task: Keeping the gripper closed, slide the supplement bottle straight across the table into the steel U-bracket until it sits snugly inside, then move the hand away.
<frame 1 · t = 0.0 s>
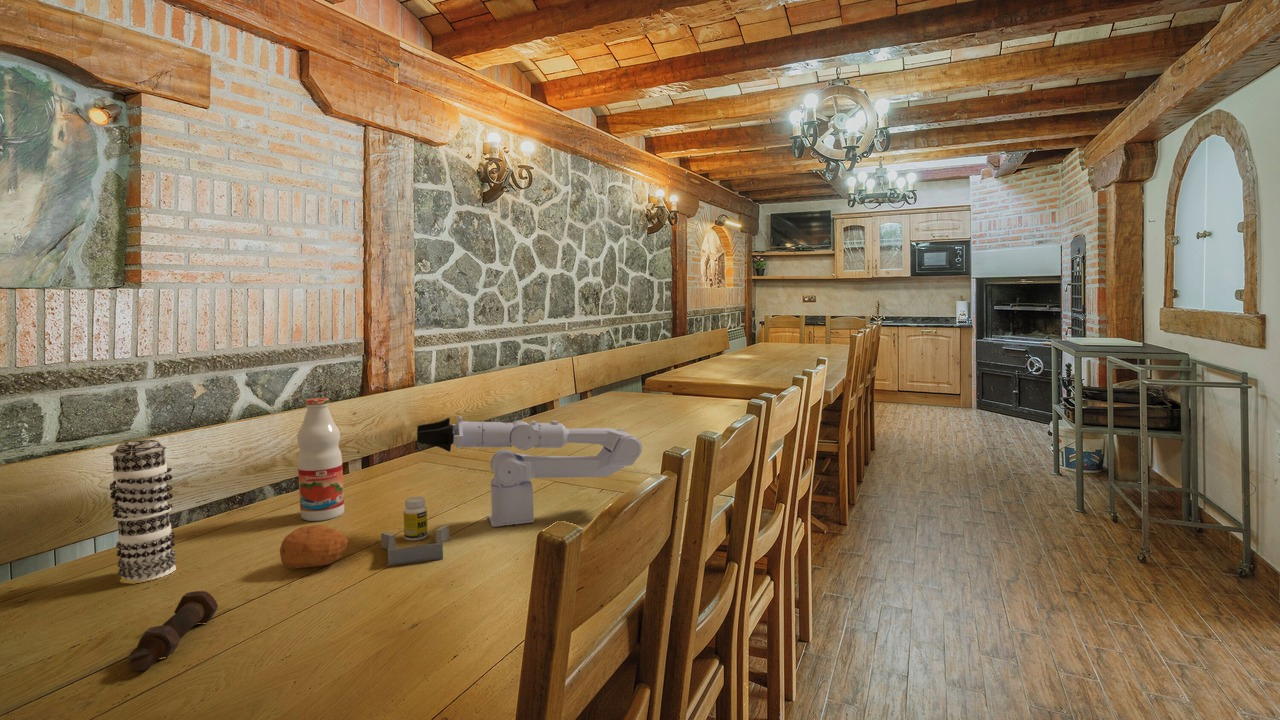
hand: (417, 433, 139), 22 cm above the table, tool horizontal, fingers open, 7 cm apart
potato: (317, 566, 122), on the table
bolt: (171, 648, 93), on the table
fruit juice: (323, 516, 151), on the table
decorative candle: (148, 575, 118), on the table
supplement bottle: (416, 538, 136), on the table
steel bracket: (416, 555, 126), on the table
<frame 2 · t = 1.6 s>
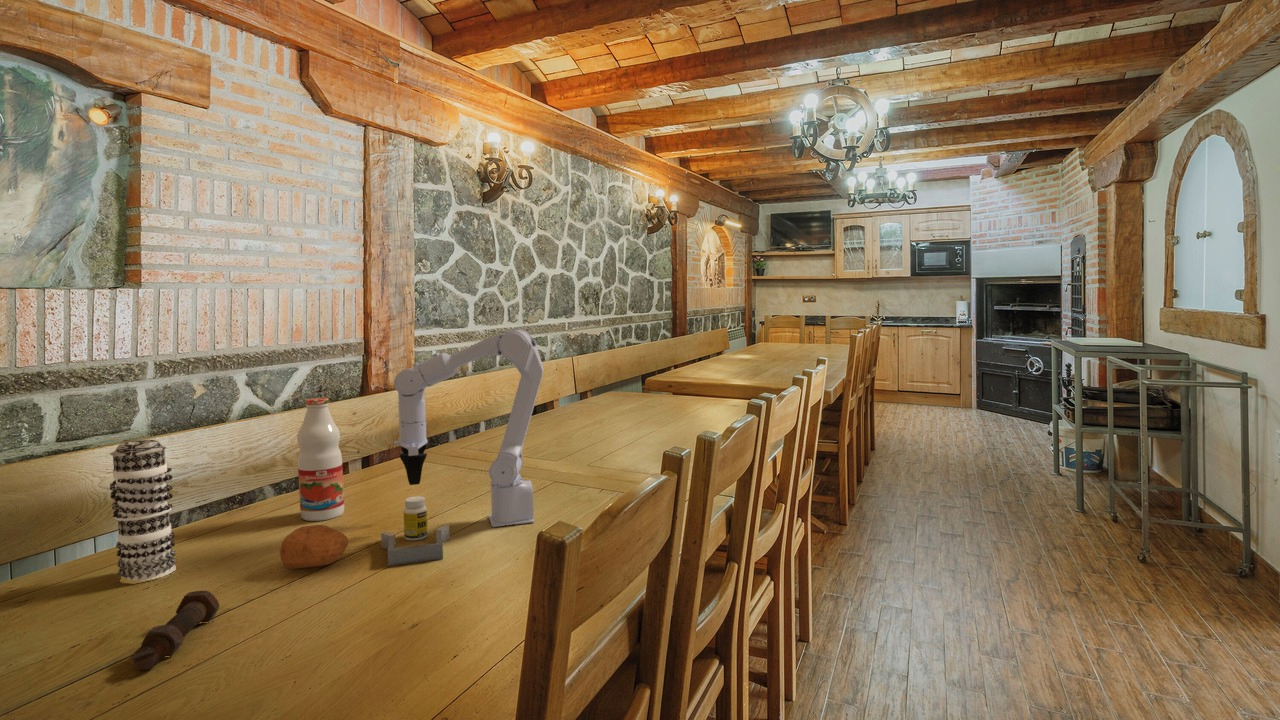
hand: (414, 479, 145), 10 cm above the table, tool pointing down, fingers open, 7 cm apart
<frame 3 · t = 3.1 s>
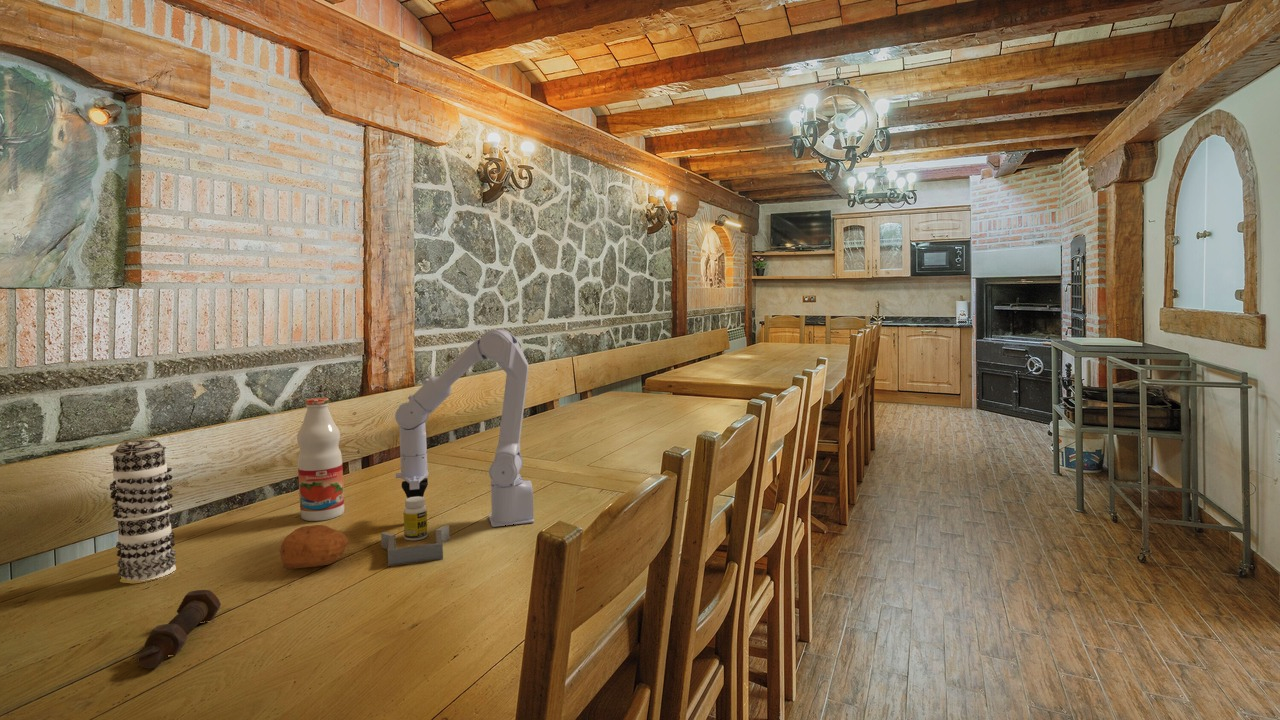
hand: (415, 512, 146), 2 cm above the table, tool pointing down, fingers closed
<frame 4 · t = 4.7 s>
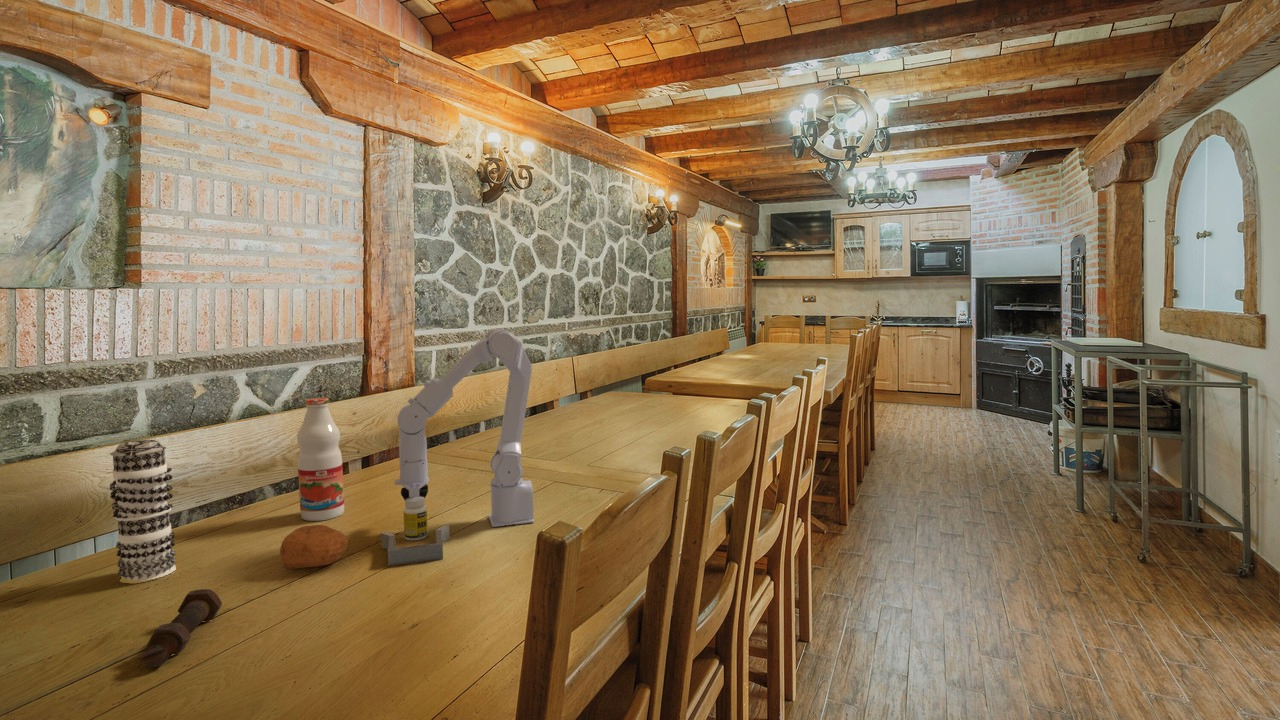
hand: (415, 519, 140), 2 cm above the table, tool pointing down, fingers closed
supplement bottle: (416, 538, 136), on the table, touching gripper
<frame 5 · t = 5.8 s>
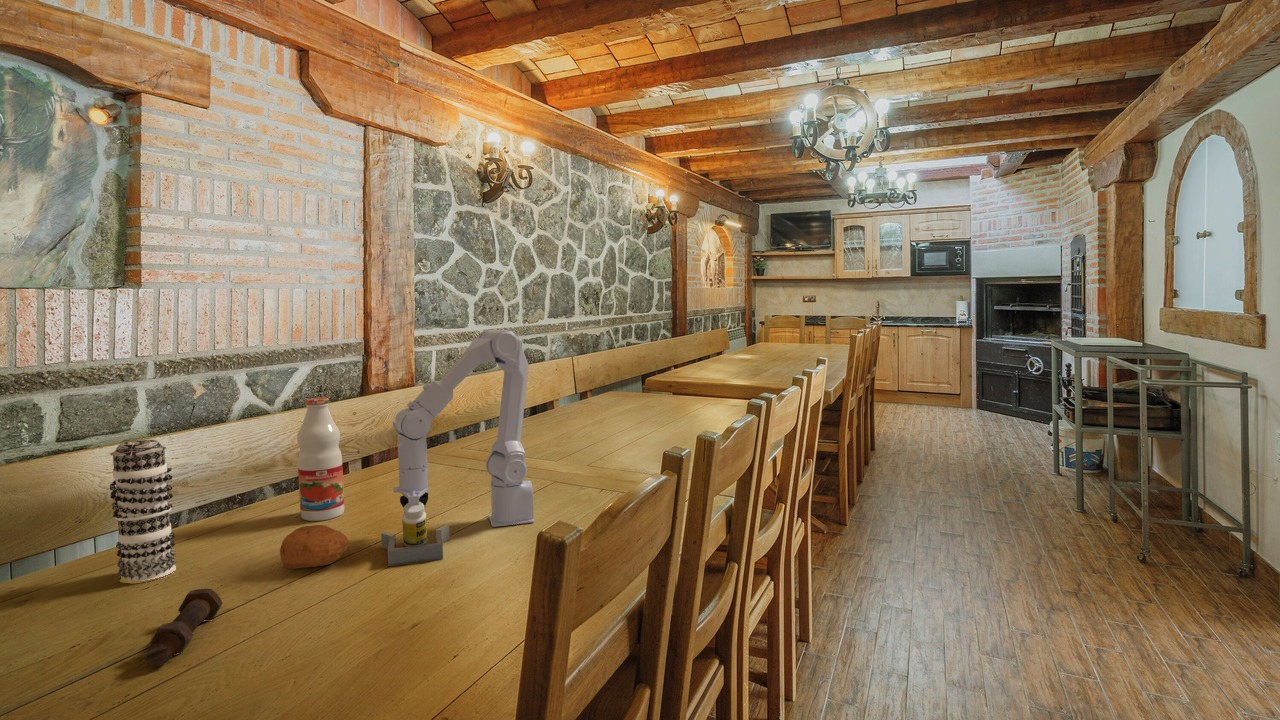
hand: (415, 529, 134), 2 cm above the table, tool pointing down, fingers closed, pressing on supplement bottle
supplement bottle: (415, 541, 132), point 1 cm above the table, touching gripper
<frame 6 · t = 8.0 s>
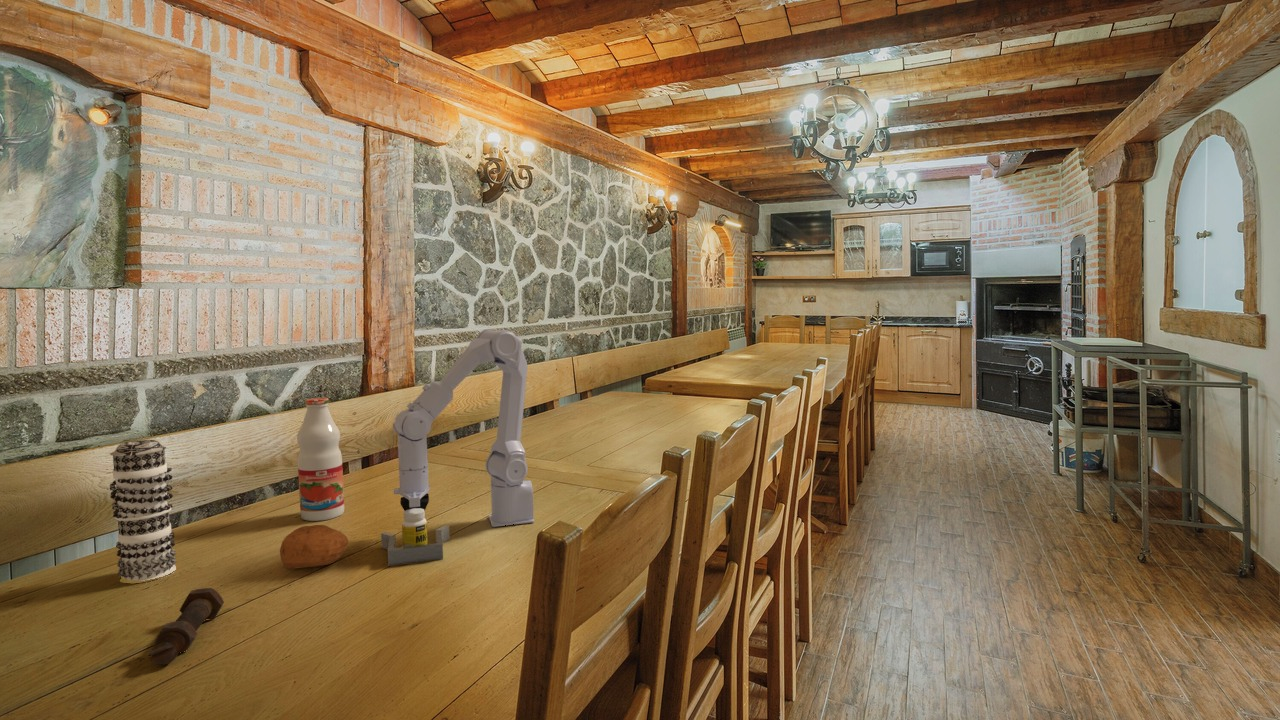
hand: (416, 530, 133), 2 cm above the table, tool pointing down, fingers closed
supplement bottle: (415, 552, 128), on the table
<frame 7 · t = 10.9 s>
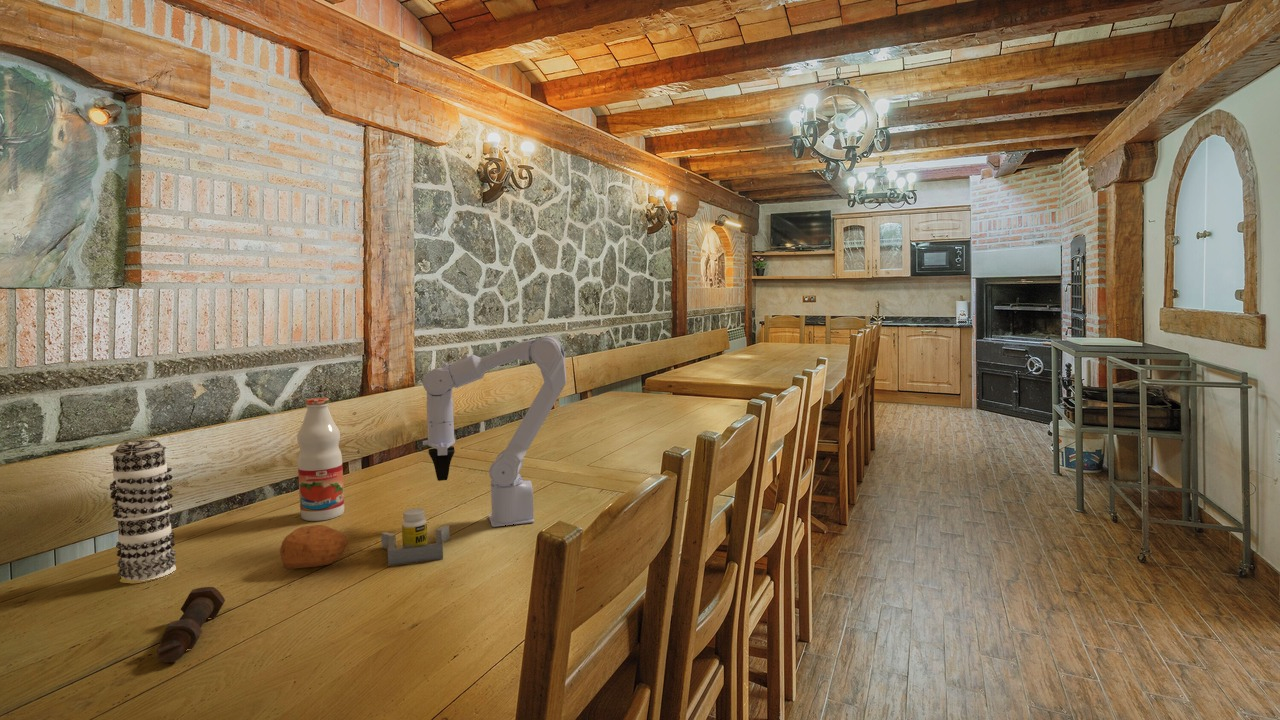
hand: (442, 479, 145), 10 cm above the table, tool pointing down, fingers closed
at the end: supplement bottle 2.2 cm off-centre on the steel bracket, point 0.0 cm above the steel bracket's base; supplement bottle tilted 0°; supplement bottle moved 8.6 cm from its start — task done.
